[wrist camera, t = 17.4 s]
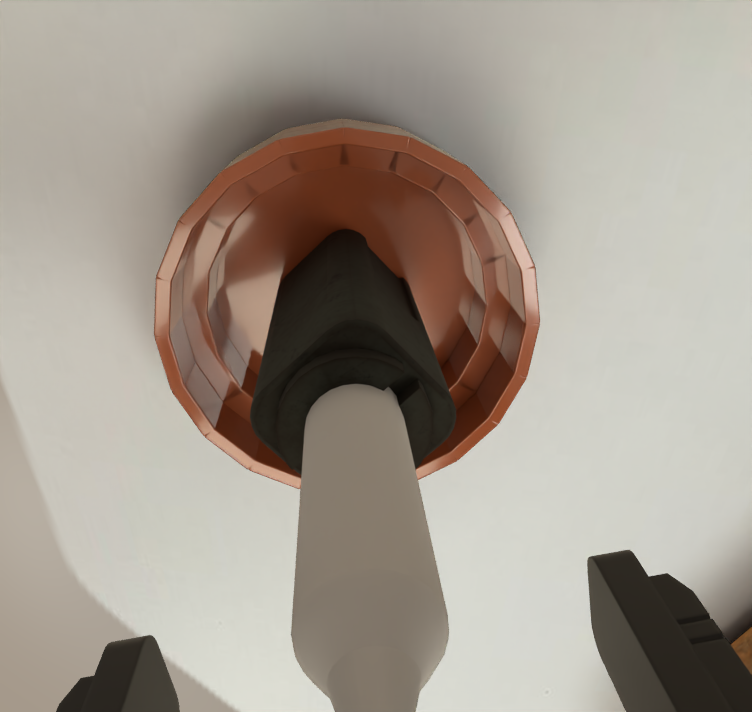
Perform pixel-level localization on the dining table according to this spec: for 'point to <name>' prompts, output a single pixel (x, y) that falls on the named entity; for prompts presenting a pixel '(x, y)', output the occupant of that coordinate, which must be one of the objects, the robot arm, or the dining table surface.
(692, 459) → the dining table surface
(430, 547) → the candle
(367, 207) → the bowl
